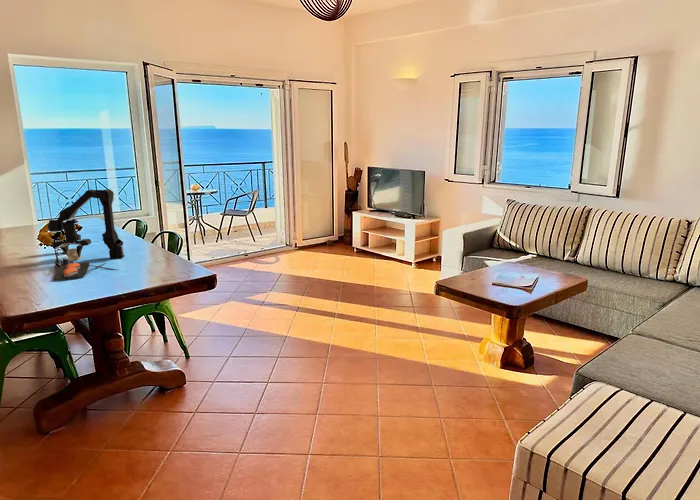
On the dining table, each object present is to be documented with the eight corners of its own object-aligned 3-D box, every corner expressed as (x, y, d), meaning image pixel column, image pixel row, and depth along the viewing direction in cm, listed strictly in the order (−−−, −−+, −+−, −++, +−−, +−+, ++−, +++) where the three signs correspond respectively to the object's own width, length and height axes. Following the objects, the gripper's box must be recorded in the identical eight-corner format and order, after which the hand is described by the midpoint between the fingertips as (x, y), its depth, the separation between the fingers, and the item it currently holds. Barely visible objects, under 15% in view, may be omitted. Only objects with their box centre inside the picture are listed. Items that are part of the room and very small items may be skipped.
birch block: (81, 258, 281) (79, 248, 279) (77, 260, 276) (76, 250, 275) (71, 258, 280) (70, 248, 279) (68, 260, 275) (66, 250, 274)
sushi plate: (60, 268, 262) (59, 261, 261) (121, 261, 273) (120, 255, 272) (52, 283, 236) (51, 276, 235) (119, 275, 248) (118, 267, 247)
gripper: (92, 227, 283) (96, 252, 287) (58, 229, 280) (63, 254, 284) (85, 231, 272) (89, 257, 276) (49, 233, 270) (54, 259, 273)
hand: (74, 257), depth 278 cm, fingers closed on birch block, 5 cm apart
